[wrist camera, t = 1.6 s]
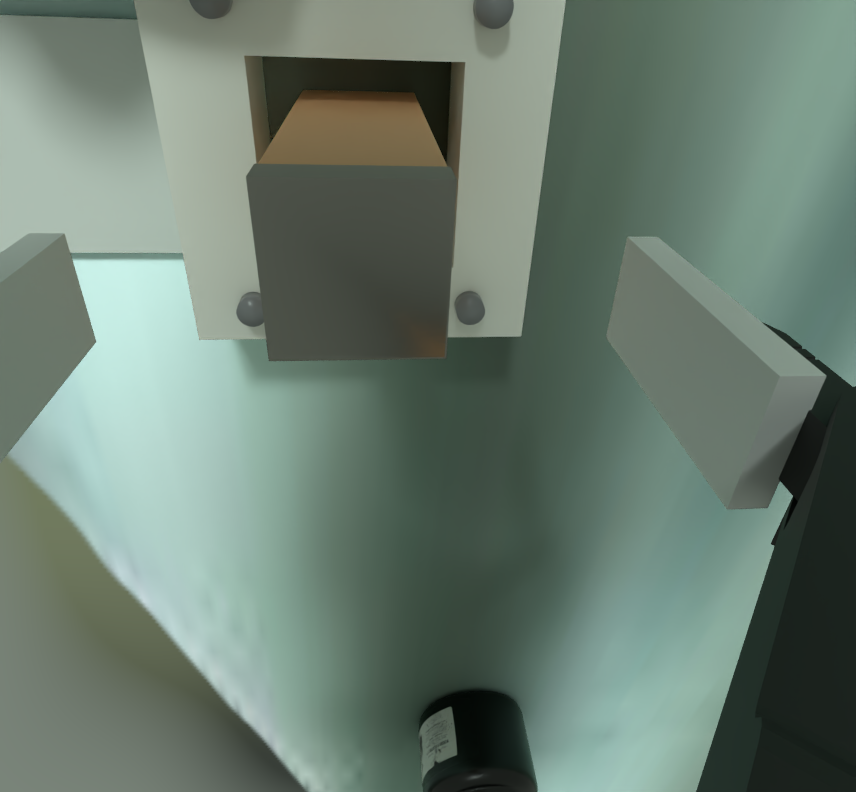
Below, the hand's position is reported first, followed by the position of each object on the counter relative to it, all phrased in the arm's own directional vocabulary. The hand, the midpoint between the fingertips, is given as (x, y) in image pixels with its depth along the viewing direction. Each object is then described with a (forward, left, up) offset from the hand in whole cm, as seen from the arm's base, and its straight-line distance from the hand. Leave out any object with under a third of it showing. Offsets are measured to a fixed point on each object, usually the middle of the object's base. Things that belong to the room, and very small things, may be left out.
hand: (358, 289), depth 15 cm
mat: (0, -13, -14) cm, 19 cm away
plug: (0, 0, -14) cm, 14 cm away
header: (0, 0, -14) cm, 14 cm away
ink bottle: (+45, +8, -14) cm, 48 cm away
